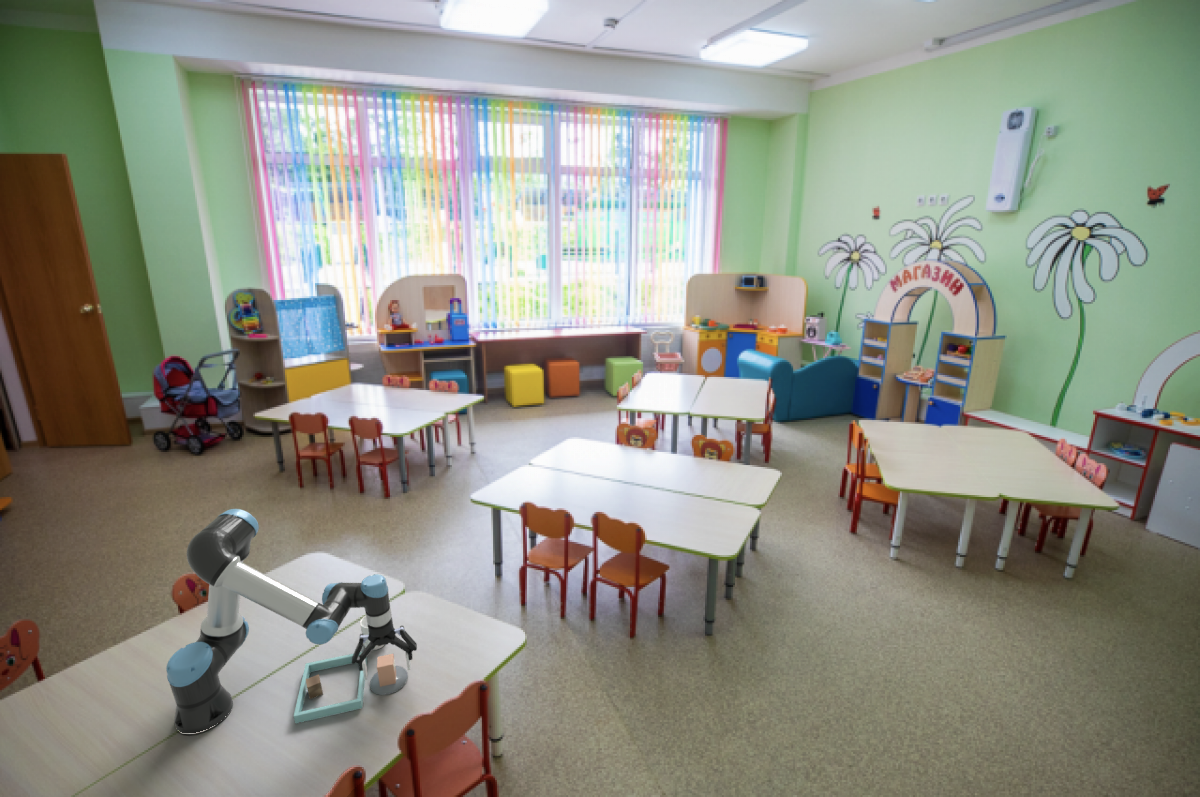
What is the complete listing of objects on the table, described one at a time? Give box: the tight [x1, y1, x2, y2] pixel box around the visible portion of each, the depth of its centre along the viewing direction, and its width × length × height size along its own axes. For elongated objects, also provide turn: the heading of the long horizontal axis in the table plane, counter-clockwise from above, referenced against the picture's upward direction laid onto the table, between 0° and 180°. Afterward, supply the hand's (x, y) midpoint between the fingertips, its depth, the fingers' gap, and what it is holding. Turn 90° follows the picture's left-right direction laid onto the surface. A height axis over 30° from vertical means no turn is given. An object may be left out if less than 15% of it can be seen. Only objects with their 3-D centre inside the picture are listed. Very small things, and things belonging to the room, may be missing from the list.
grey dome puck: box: [369, 665, 409, 696], centre depth 193 cm, size 12×12×1 cm
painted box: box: [376, 653, 396, 687], centre depth 192 cm, size 5×5×8 cm
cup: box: [359, 615, 385, 651], centre depth 210 cm, size 8×12×10 cm
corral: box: [293, 651, 368, 724], centre depth 190 cm, size 19×22×3 cm
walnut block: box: [306, 674, 324, 700], centre depth 188 cm, size 4×4×5 cm
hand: (387, 671), depth 192 cm, fingers open, 13 cm apart
